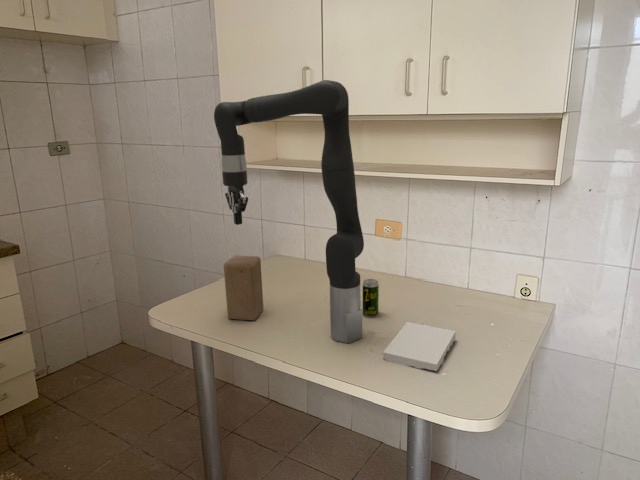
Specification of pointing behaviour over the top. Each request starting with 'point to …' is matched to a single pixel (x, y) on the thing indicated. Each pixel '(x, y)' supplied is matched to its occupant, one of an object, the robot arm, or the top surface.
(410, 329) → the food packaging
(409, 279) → the top surface
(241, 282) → the wooden block
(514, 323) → the top surface
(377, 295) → the beer can
